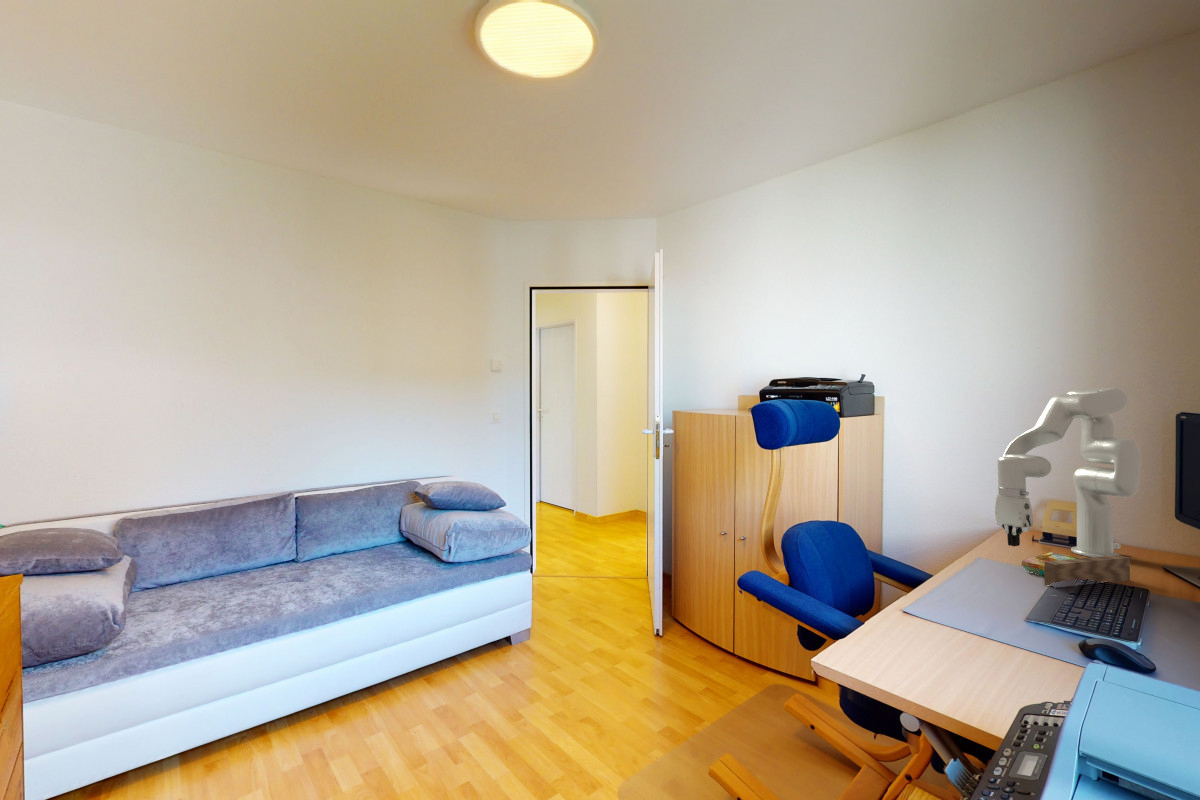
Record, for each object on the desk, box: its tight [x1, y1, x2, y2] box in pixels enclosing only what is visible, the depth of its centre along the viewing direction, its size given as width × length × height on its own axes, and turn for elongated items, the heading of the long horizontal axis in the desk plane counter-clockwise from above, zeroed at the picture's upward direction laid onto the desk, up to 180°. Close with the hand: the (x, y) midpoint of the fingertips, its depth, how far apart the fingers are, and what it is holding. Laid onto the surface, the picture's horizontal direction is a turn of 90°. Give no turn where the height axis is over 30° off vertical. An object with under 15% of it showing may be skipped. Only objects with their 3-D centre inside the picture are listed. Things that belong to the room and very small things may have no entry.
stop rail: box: [1043, 554, 1131, 586], centre depth 159 cm, size 30×3×7 cm, turn 104°
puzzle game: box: [1021, 552, 1080, 576], centre depth 169 cm, size 12×5×20 cm
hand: (1013, 545), depth 181 cm, fingers closed
